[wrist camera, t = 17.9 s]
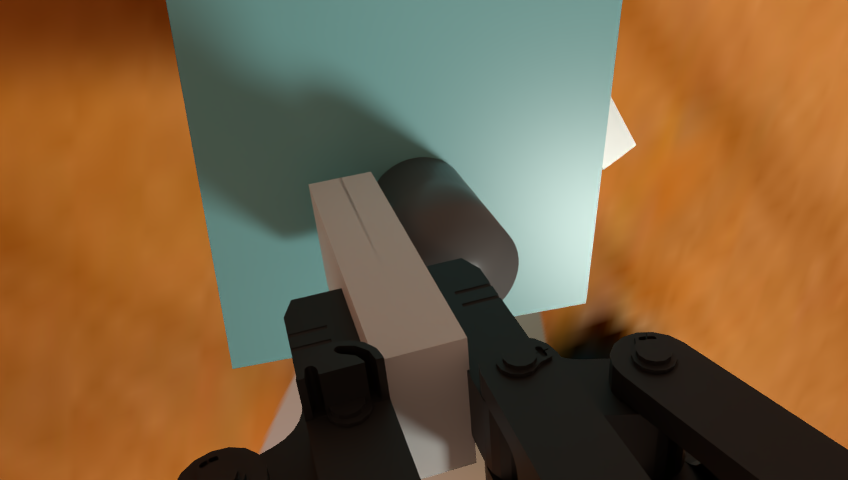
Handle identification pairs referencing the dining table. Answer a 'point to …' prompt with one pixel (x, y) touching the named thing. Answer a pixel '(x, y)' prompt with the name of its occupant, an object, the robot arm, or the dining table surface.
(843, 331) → the dining table surface
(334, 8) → the lid
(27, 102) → the dining table surface
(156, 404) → the dining table surface
